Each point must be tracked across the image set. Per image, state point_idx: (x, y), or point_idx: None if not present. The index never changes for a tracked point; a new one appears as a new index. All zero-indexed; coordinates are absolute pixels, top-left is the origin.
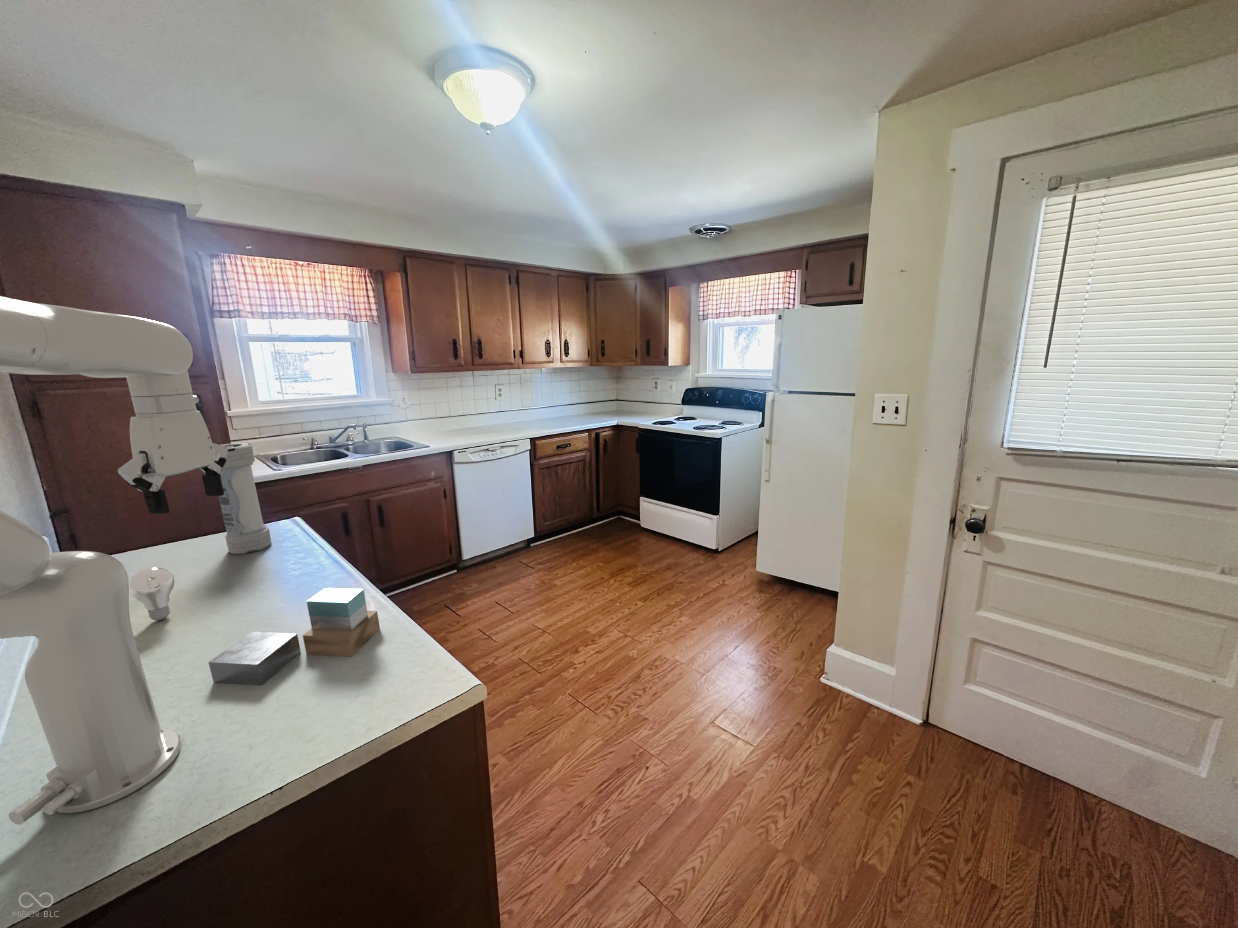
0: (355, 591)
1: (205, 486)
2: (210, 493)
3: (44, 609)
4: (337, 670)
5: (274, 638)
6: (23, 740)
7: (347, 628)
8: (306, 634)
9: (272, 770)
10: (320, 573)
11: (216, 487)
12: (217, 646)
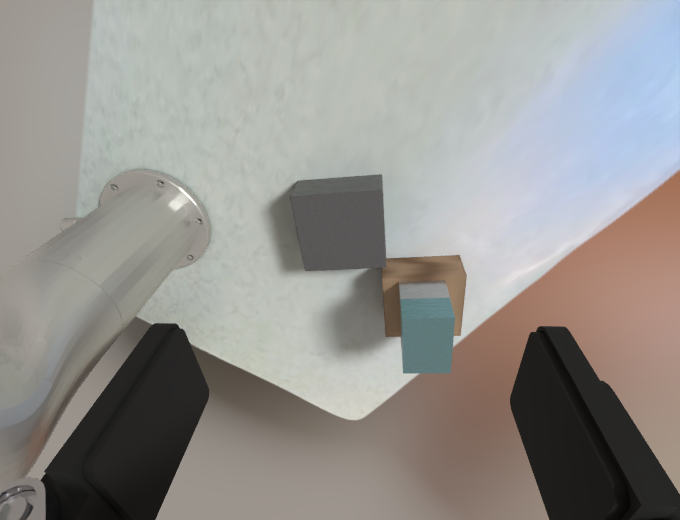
0: (441, 366)
1: (558, 395)
2: (528, 367)
3: None
4: (355, 314)
5: (368, 244)
6: (108, 7)
7: (400, 332)
8: (385, 282)
9: (224, 342)
10: None
11: (530, 449)
12: (384, 80)
